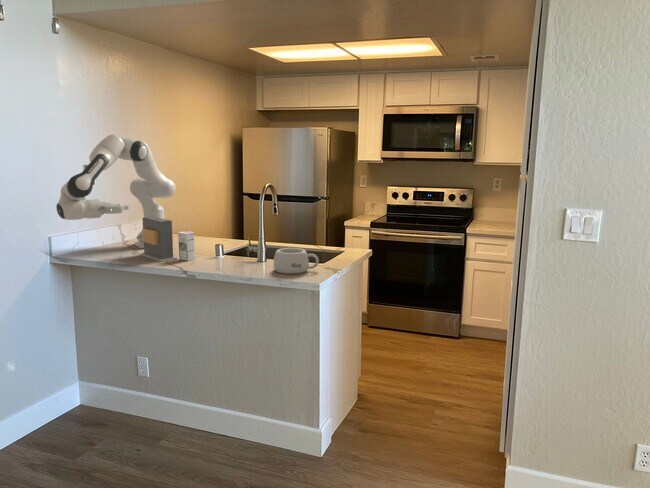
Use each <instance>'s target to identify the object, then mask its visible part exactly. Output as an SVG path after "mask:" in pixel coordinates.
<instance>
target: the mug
mask: <svg viewBox="0 0 650 488" xmlns="http://www.w3.org/2000/svg"><path fill="white" fill-rule="evenodd" d="M310 257H313V258H314V259H315V263H314V264H312V265H310V263H309V261H310V260H309V258H310ZM319 262H320V259H319V257H318V256H317V254H314V253H308V252H307V251H306V249H303V248H299V247H286V248H285V247H282V248H279V249H277V250H276V251H275V253H274V257H273V269H274V271H275V272H276V273H279V274H283V275H297V274H303V273H306V272H307V271H308V270H311V269H314V268H316V267H317V266H319V264H320V263H319Z"/></svg>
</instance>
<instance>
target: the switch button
mask: <svg viewBox="0 0 650 488" xmlns="http://www.w3.org/2000/svg"><path fill="white" fill-rule="evenodd" d="M141 231H143V242H146V243H149V244H152V245H158V230H154V229H150V228H143V227H142V228H141Z"/></svg>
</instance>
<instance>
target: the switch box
mask: <svg viewBox="0 0 650 488" xmlns="http://www.w3.org/2000/svg"><path fill="white" fill-rule="evenodd" d="M142 228H150V229H154V230H158V245H152V244H149V243H146V242H144V248H143V252H141V253H140V256H143V257H146V258H149V259H151V260H154V261H157V262H160V263H163V262H169V261H175V260H177V259H178V257H177V256H175V255H174V246H173V245H174V243H173V242H174V240H173V239H174V238H173V221H172V220H169V219H165V218H164V219H161V218H157V217H145V218H144V217H142Z"/></svg>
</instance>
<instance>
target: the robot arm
mask: <svg viewBox="0 0 650 488" xmlns="http://www.w3.org/2000/svg"><path fill="white" fill-rule="evenodd" d="M88 159H89V164H87V166H86V167H85V168H84V169H83V170H82V172H80V173H78V174H75V175H73V176H71V178H69V180H68V181H67V182H66V183H64V184H63V185H62V187H61V189H60V197H59V200H58V202H57V204H56V212H57V215H58V216H59V217H60V218H61V219H63V220H68V221H69V220H71V221H76V220H77V221H78V220H82V219H88V220H89V219H99V218H102V216H103V215H104V214H107V215H108V214H109V215H110V214H111V215H112V214H113V215H115V214H122V213H123V211H126V210H127V211H128V210H129V206H128V205H121V204H119V203H111V202H105V201H101V200H100V199H98V198H96V199H95V198H93V199H86V197H87V196H89V195H90V194H91V193H92V191H93V188H94V182H95V181H96V180H97V178H98V177H99V175H100V174H101V173H102V172H103V171H106V170H109V168H110V167H112V166H113V165H114V163H116V161H117V160H118V159H120V160H123V161H132V164H133V167H134V169H135V172H136V175H137V176H138V177H139V178H136V179H135V178H134V179H132V181H131V183H129V191H130V193H131V194H132V196H133V197H135V198H136V199H137V200H138V201H139V203H140V204H141V207H142V212H143V218H145V217H157V218H161V219H165V210H164V207H163V206H162V205H161V204H159V203H157V201H156V200H155V199H165V198H170V197H173V196H174V195H175V193H176V190H177V189H176V184H175V181H173V180H172V179H170V178H168V177H167V176H165V175H164V174H163V173H162V172H161V171H160V170H159V169H158V165H157V164H156V161H155V159H154V156H153V153H152V151H151V148H150V147H149V144H147V142H145V141H144V140H135V139H133V138H129V137H120V136H119V135H116V134H109V135H107V136H105V137H104V138H103V139H102V140H101V141H99V143H97V144H96V146H94V148H93V149H92V151H91V152H90V154H89V157H88ZM136 239H137V241H135V242H133V245H135V246H136V247H138V248H139V249H144V242H143V231H142V230H141V231H140V232H139V233H138V234H137V235H136Z"/></svg>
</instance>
